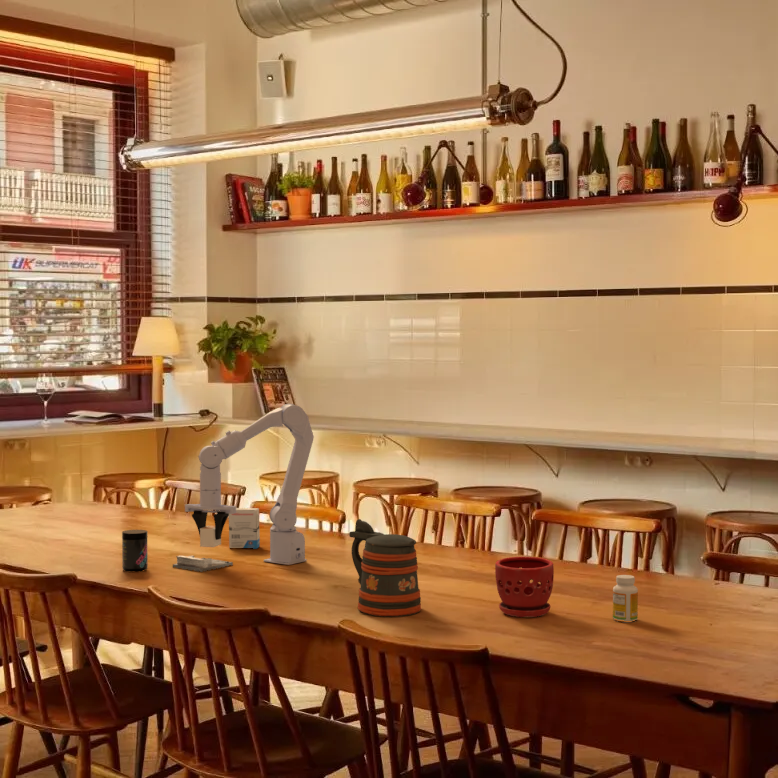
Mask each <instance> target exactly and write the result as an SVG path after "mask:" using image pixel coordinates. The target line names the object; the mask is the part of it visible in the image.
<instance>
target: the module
mask: <svg viewBox="0 0 778 778" xmlns="http://www.w3.org/2000/svg"><path fill="white" fill-rule="evenodd" d="M199 540H200V541H199V547H200V548H201V547H202V548H215V547H218V546H221V545H222V538H221V539H218V540H216V538H215V525H206V527H203V528H200V535H199Z"/></svg>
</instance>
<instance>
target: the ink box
mask: <svg viewBox="0 0 778 778" xmlns="http://www.w3.org/2000/svg"><path fill="white" fill-rule="evenodd" d="M260 533H261V532H260V508H259V507H257V508H256V507H250V508H249V507H247V508H245V507H244V508H243V507H236V513H235V514H230V513H229V516H228V544H229V546H228V549H229V548H253V550H256V549H257V550H258V548H259V547H260V543H261V542H260V540H261V538H260V537H261V536H260Z"/></svg>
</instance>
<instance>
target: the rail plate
mask: <svg viewBox="0 0 778 778" xmlns="http://www.w3.org/2000/svg"><path fill="white" fill-rule="evenodd" d="M233 563H234V562H233V561H226V560H220V559H214V558H212V557H211V558H209V557H208V558H205V557H202V558H199V557H195V555H188V556H186V555H176V563H173V564H172V568H174V567H176V568H175V569H180V568H182V569H181V570H186V569H188V570H187V571H192V570H194V572H199V571H200V572H199V573H203V571H204V572H208V571H212V570H211V569H213V570H216V568H217V569H220V568H221V567H222V568H226V567H225V566H227V567H230V566H229V565H231V566H233V565H234V564H233ZM222 568H221V569H222ZM207 570H208V571H207Z"/></svg>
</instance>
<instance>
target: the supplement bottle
mask: <svg viewBox="0 0 778 778" xmlns="http://www.w3.org/2000/svg"><path fill="white" fill-rule="evenodd" d="M615 577H616V578H615V582H616V585H614V586H613V588H612V619H613V618H614V619H617V620H624V621H633V620H637V621H638V618H639V617H638V611H639V609H638V608H639V607H638V603H639V602H638V601H639V600H638V599H639V598H638V596H639V590H638V587H637V586H635V585H634V584H636V583H635V582H636V578H635V576H634V575H631V574H620V575H619V574H618V575H616V576H615ZM614 619H613V620H614Z"/></svg>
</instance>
